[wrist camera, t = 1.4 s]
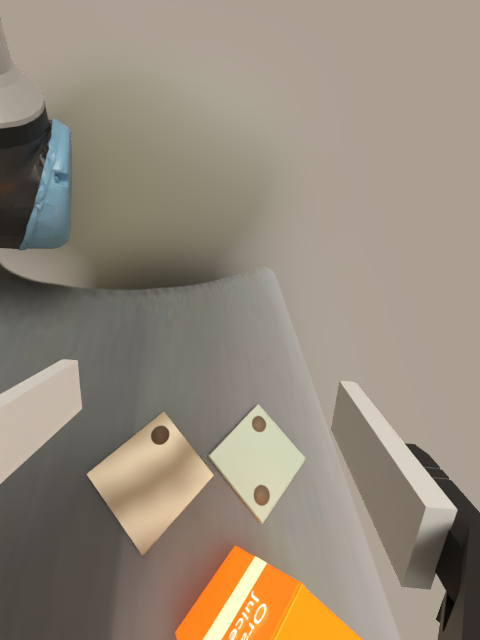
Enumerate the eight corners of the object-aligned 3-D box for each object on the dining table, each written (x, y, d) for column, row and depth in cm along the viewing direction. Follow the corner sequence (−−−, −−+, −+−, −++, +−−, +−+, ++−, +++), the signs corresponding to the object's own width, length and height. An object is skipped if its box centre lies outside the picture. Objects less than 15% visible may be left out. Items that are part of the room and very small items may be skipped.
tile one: (87, 474, 29) (86, 474, 28) (162, 413, 35) (163, 411, 34) (142, 553, 27) (142, 555, 27) (211, 475, 33) (213, 475, 32)
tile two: (207, 456, 34) (209, 455, 33) (255, 405, 40) (258, 403, 39) (259, 522, 33) (262, 523, 32) (301, 459, 38) (305, 458, 38)
